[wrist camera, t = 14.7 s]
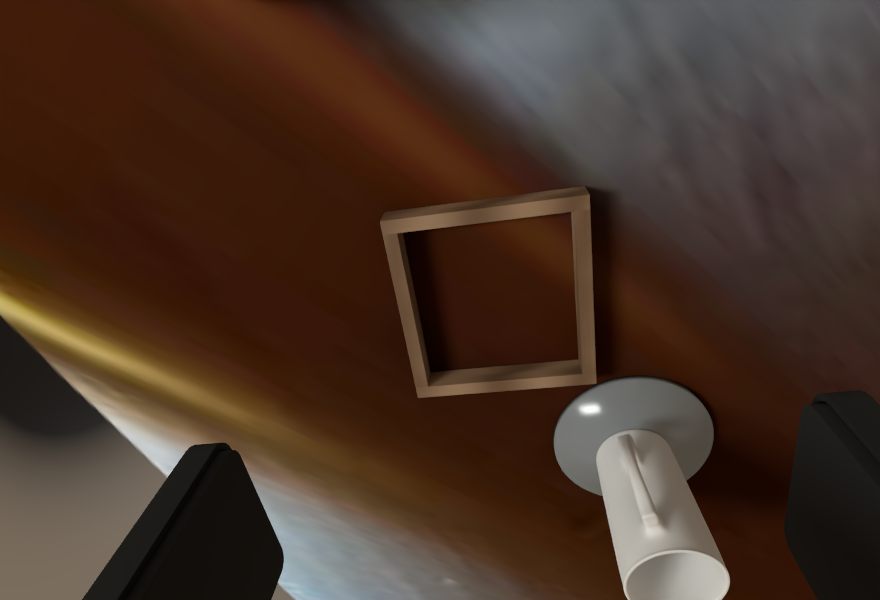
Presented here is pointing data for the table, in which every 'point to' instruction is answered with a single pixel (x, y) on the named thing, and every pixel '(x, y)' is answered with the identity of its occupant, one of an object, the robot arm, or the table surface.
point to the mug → (657, 522)
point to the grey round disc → (631, 424)
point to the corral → (480, 213)
